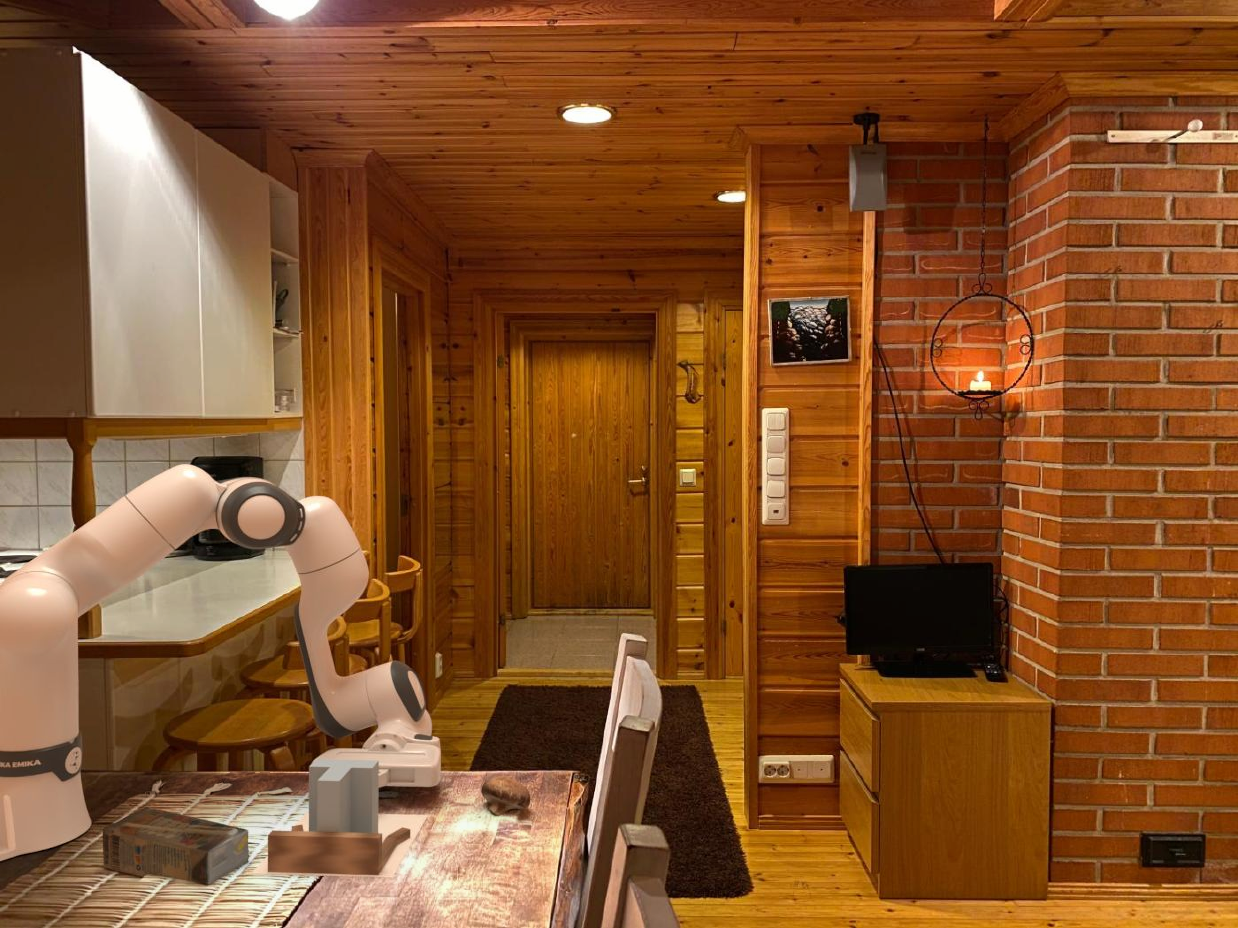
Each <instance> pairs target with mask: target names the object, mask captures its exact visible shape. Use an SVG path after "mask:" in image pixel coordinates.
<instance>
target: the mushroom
mask: <svg viewBox="0 0 1238 928" xmlns="http://www.w3.org/2000/svg"><path fill="white" fill-rule="evenodd" d="M480 792H481V794H482V795H481V796H482V797H483V798H484V799H485V800H486V801H488V803H490V806H489V807H488V810H489V811H491V812H492V813H493V814H494V815H495V816H496V817H500V816H502V815H504V814H505V813H506V812H509V811H510V810H514V809H515V810H516V809H517V810H518V811H522V810H527V809H528V808H529V806H530V805H531V794H530V791H529V790H528V788H527V787H526V786H525V784H522V783H521V782H519V781H516V780H515V779H512V778H509V777H505V776H493V777H491V778H489V779H487V780H486V781H485V782H484V783H483V784H482V785H481V790H480Z"/></svg>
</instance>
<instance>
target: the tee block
mask: <svg viewBox="0 0 1238 928" xmlns="http://www.w3.org/2000/svg"><path fill="white" fill-rule="evenodd" d="M315 759H316V758H315ZM315 759H314V760H315ZM314 760H313V761H314ZM313 761H312V762H313ZM312 762H311V764H310V765H309V766H308V812H309V831H313V832H350V833H378V814H379V788H378V786H379V761H373V760H334V759H316V760H315V761H314V762H313V763H312Z"/></svg>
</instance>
